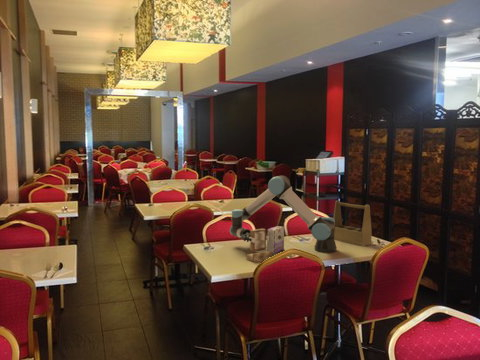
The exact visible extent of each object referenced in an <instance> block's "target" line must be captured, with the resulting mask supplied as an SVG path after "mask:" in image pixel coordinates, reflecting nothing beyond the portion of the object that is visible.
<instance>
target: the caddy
mask: <svg viewBox="0 0 480 360" xmlns="http://www.w3.org/2000/svg"><path fill="white" fill-rule="evenodd" d="M342 207H345V208H353V209H360V210H364V211H363V218H362V225H361V226H362V227H361V228H359V227H358V228H357V227H353V226H347V225H344V224H343V218H342V209H341V208H342ZM332 218H334V220H335V228H334V240H335V241H340V242H344V243H348V244H351V245H356V246H361V247H365V246H369V245H372V231H373V230H372V218H371V207H370V204H365V205H361V204H354V203H353V204H352V203H347V202H341V201H340V200H336V201H335V204H334V211H333V217H332Z"/></svg>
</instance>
